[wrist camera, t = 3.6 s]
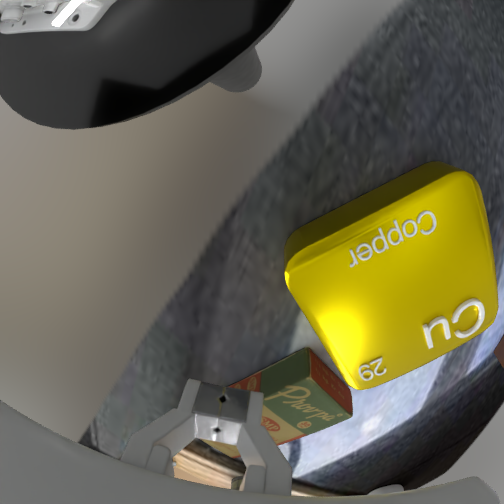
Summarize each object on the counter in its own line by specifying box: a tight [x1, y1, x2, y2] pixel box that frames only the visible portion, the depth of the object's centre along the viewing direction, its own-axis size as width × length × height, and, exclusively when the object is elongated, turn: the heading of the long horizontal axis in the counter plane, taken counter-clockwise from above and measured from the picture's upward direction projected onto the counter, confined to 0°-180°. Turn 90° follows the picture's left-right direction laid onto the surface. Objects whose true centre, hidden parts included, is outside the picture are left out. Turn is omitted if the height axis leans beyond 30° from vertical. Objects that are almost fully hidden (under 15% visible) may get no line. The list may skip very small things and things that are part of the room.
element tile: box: [284, 161, 498, 390], centre depth 21 cm, size 15×15×5 cm
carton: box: [201, 348, 353, 458], centre depth 29 cm, size 8×16×4 cm, turn 129°
